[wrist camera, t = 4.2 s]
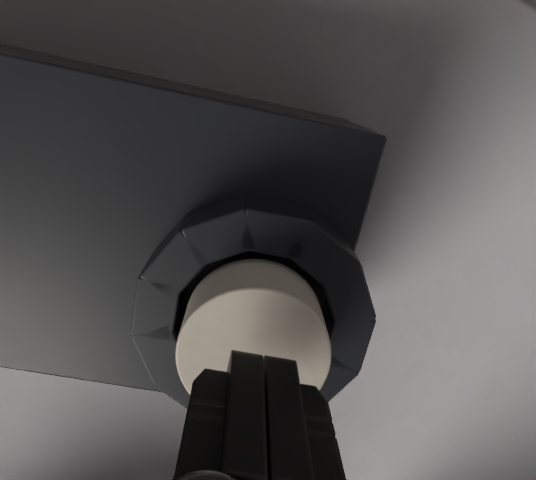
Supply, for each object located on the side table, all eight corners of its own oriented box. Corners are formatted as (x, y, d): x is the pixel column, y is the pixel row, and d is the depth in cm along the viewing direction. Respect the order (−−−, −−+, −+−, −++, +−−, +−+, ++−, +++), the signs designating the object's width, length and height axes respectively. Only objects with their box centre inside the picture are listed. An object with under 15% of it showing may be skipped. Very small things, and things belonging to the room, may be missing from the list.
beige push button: (335, 271, 13) (349, 303, 12) (303, 387, 15) (311, 434, 13) (197, 245, 13) (188, 274, 11) (176, 367, 14) (164, 411, 12)
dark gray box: (362, 123, 20) (431, 149, 12) (307, 331, 23) (334, 457, 15) (-54, 32, 18) (-276, -4, 10) (-52, 269, 21) (-223, 374, 14)
